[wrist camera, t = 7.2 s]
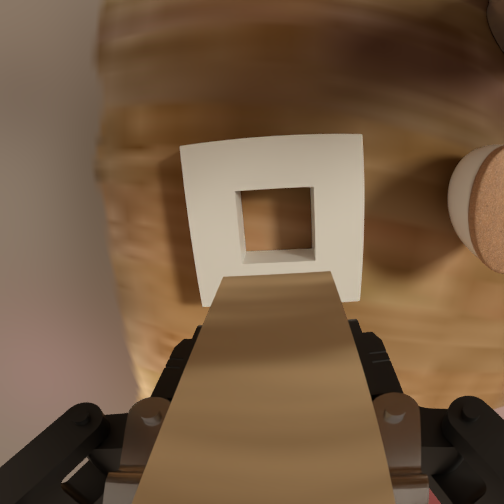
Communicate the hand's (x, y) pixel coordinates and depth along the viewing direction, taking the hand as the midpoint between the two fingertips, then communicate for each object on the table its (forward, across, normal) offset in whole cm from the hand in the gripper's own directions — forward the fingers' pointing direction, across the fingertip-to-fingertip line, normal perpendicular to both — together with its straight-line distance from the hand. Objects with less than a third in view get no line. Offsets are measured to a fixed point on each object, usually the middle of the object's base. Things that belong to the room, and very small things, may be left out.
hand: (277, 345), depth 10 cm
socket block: (+17, 0, 0) cm, 17 cm away
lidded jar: (+17, -20, -2) cm, 26 cm away
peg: (+2, 0, 0) cm, 2 cm away
